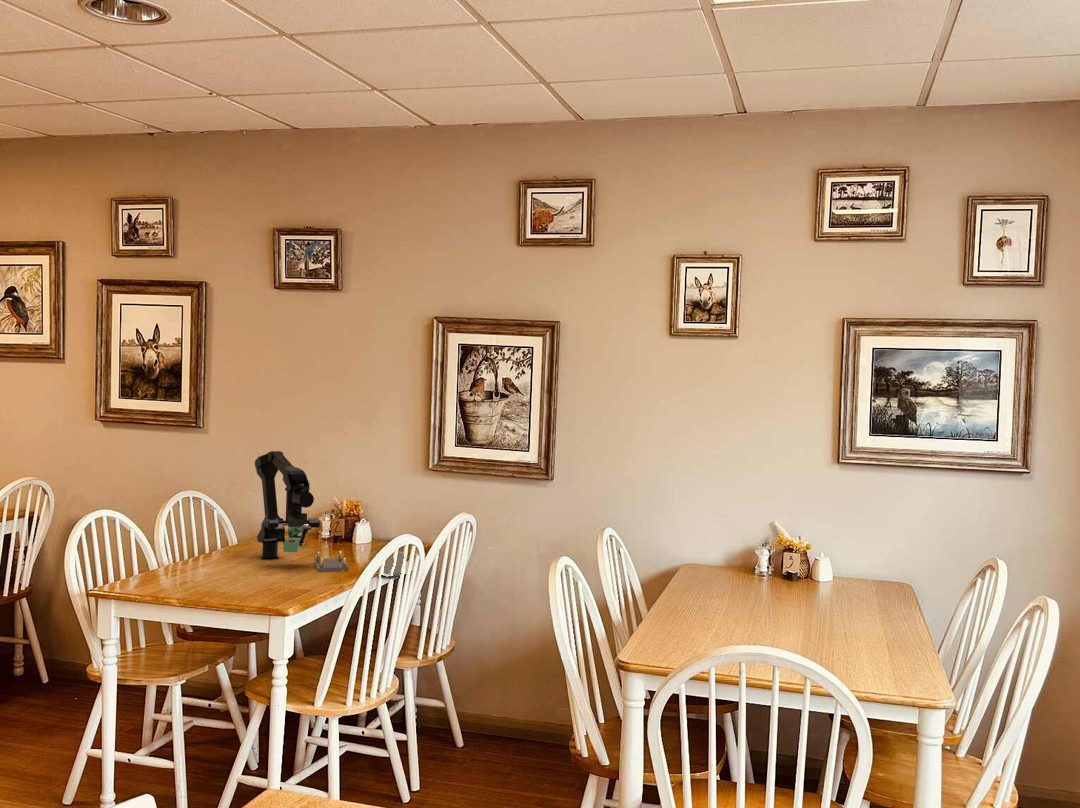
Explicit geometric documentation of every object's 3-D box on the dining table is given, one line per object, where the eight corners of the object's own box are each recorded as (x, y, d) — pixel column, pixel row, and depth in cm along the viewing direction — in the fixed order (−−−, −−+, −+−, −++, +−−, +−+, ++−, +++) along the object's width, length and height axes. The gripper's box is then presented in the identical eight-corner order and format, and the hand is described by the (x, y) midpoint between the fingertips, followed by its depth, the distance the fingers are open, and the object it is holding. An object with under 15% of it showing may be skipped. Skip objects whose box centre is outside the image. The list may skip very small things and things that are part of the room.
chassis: (313, 562, 365) (314, 550, 365) (343, 562, 369) (343, 550, 369) (318, 571, 349) (318, 559, 349) (348, 571, 353) (349, 558, 352)
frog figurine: (318, 548, 395) (318, 520, 394) (272, 548, 391) (273, 520, 391) (319, 541, 412) (320, 514, 412) (275, 541, 409) (276, 513, 408)
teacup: (408, 578, 345) (409, 555, 345) (378, 579, 341) (379, 556, 341) (399, 570, 358) (399, 548, 358) (370, 571, 354) (370, 549, 354)
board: (287, 547, 361) (288, 536, 361) (301, 547, 361) (301, 536, 361) (283, 551, 351) (283, 541, 351) (297, 552, 351) (297, 541, 351)
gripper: (268, 507, 345) (267, 550, 346) (322, 507, 351) (320, 549, 351) (267, 503, 356) (266, 545, 356) (319, 502, 362) (317, 544, 362)
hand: (292, 546), depth 356 cm, fingers closed on board, 5 cm apart
